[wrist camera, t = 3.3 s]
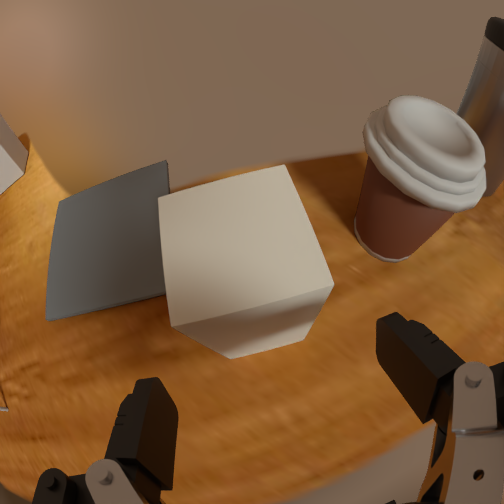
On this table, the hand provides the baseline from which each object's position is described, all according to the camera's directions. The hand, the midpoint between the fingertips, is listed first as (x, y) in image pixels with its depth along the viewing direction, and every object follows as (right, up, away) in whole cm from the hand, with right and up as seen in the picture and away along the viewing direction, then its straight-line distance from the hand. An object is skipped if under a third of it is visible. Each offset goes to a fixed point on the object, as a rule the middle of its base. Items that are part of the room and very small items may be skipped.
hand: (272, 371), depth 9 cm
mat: (-15, +6, +16) cm, 23 cm away
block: (0, -1, +12) cm, 12 cm away
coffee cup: (+11, +6, +14) cm, 19 cm away
